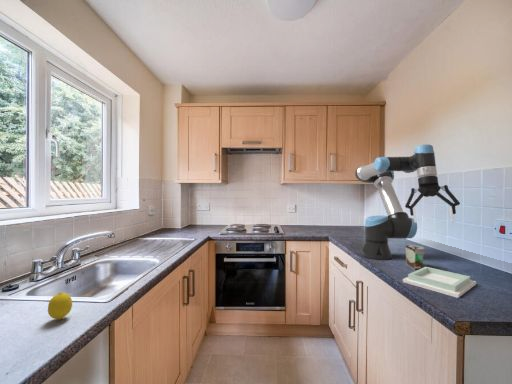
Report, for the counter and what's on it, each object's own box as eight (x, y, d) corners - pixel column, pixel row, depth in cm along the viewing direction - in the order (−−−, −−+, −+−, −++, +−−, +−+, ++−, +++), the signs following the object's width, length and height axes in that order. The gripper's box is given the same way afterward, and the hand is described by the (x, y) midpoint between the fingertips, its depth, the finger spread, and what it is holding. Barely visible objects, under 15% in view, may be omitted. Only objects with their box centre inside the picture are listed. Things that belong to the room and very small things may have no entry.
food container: (430, 271, 110) (430, 250, 110) (416, 270, 111) (415, 249, 111) (418, 263, 122) (418, 244, 122) (405, 263, 123) (404, 244, 123)
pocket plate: (402, 281, 97) (402, 274, 97) (424, 272, 109) (424, 265, 109) (458, 297, 82) (458, 288, 82) (476, 284, 94) (475, 276, 94)
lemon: (55, 326, 66) (55, 297, 66) (43, 322, 68) (43, 294, 68) (76, 316, 71) (76, 290, 71) (64, 313, 73) (64, 287, 73)
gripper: (396, 178, 115) (400, 222, 111) (463, 171, 101) (471, 220, 97) (397, 181, 121) (401, 223, 117) (460, 175, 107) (468, 221, 103)
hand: (433, 222), depth 107 cm, fingers open, 13 cm apart
